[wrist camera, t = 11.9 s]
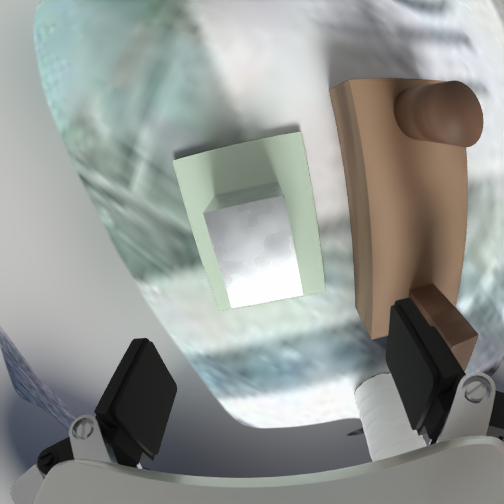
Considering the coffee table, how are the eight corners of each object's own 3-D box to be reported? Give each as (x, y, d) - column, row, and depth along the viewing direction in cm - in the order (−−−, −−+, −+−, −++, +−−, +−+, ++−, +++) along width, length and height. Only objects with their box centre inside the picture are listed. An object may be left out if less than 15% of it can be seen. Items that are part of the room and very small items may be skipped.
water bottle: (376, 404, 33) (415, 552, 10) (344, 398, 32) (378, 567, 9) (417, 365, 30) (483, 521, 7) (388, 355, 29) (457, 541, 6)
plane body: (422, 87, 18) (523, 77, 7) (430, 287, 25) (491, 361, 14) (329, 90, 18) (401, 53, 7) (355, 307, 26) (398, 402, 15)
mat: (299, 131, 20) (301, 131, 19) (324, 288, 25) (325, 291, 25) (174, 159, 21) (172, 160, 20) (219, 307, 26) (218, 311, 26)
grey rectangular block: (278, 181, 21) (284, 195, 16) (294, 262, 24) (302, 294, 19) (214, 195, 21) (202, 213, 17) (236, 274, 24) (232, 307, 20)
